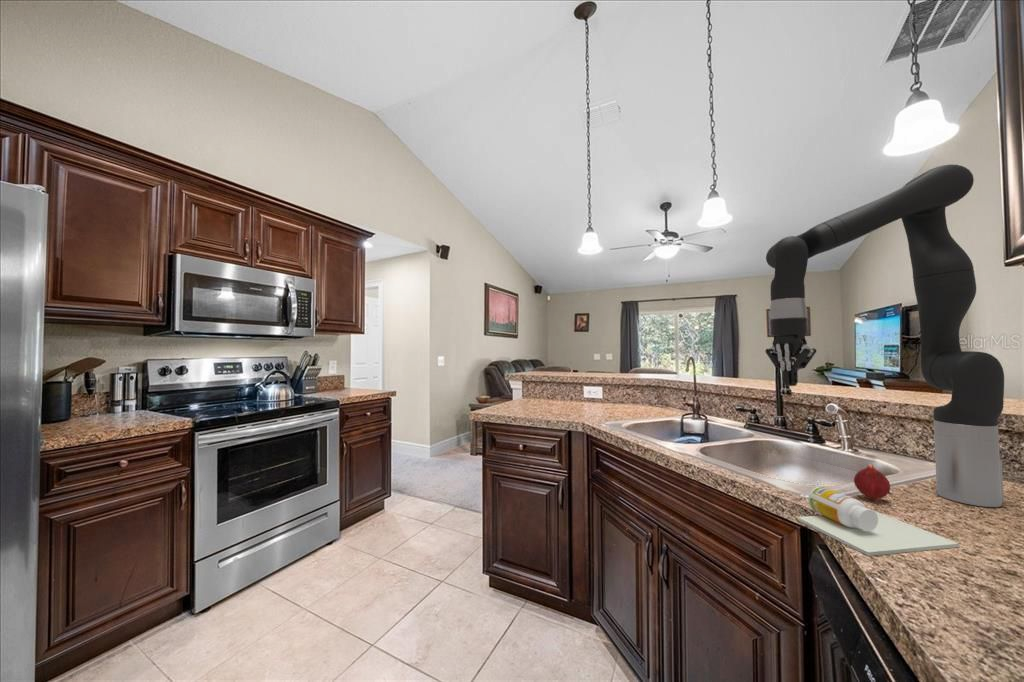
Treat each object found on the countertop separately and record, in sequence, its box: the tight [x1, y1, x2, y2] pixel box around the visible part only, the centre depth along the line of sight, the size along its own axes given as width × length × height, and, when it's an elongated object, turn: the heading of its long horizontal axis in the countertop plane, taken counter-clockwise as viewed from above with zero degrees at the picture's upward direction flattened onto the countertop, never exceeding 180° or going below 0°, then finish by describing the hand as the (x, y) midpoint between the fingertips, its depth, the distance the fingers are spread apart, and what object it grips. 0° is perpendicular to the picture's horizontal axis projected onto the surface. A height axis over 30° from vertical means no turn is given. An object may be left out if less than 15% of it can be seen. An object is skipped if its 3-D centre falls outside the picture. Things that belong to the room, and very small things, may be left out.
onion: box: [853, 463, 891, 501], centre depth 83 cm, size 6×6×8 cm
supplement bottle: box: [807, 486, 878, 531], centre depth 71 cm, size 5×5×10 cm
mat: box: [797, 510, 960, 557], centre depth 69 cm, size 18×13×1 cm
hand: (790, 385), depth 93 cm, fingers closed
